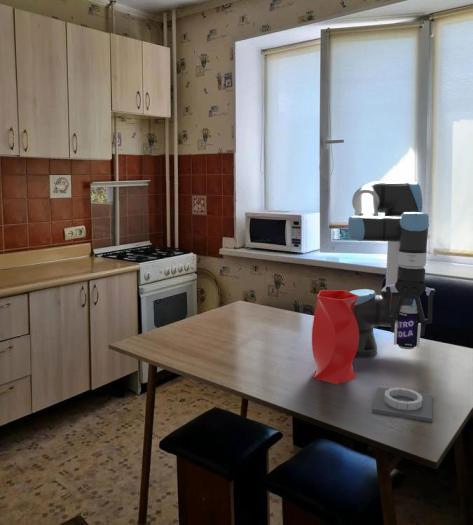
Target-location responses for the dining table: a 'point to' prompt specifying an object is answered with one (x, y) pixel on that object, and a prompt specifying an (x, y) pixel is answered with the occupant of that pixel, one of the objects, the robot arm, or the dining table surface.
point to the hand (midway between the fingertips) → (406, 344)
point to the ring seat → (403, 403)
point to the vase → (335, 336)
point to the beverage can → (407, 327)
